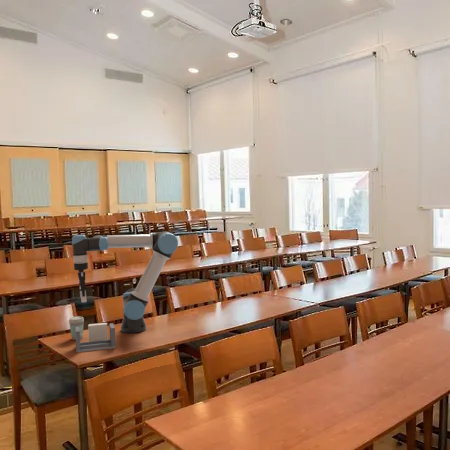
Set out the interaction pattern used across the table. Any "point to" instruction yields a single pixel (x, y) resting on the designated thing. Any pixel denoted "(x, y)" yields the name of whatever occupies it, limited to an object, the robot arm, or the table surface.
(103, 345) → the track
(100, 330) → the block
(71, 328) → the coffee cup
